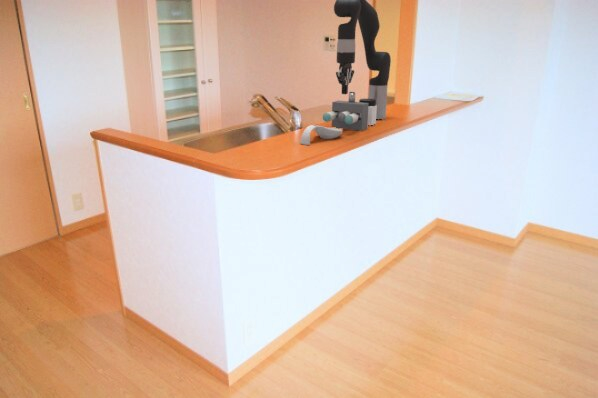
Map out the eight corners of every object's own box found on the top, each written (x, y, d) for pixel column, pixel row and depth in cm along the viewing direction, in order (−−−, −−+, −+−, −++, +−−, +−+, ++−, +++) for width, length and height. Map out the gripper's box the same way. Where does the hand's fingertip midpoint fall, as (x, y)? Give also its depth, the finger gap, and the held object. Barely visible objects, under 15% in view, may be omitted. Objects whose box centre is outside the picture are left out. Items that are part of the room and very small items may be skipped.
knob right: (354, 120, 221) (355, 111, 219) (362, 120, 219) (363, 112, 217) (344, 123, 212) (344, 114, 211) (352, 124, 210) (353, 115, 209)
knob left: (333, 117, 226) (333, 109, 225) (341, 118, 224) (341, 110, 223) (322, 121, 217) (322, 112, 216) (330, 122, 215) (330, 113, 214)
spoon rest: (324, 133, 215) (324, 117, 212) (347, 137, 208) (348, 120, 206) (293, 143, 197) (293, 126, 194) (317, 147, 190) (317, 129, 188)
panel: (337, 125, 231) (338, 100, 227) (367, 128, 224) (368, 103, 220) (331, 127, 227) (332, 102, 223) (361, 131, 219) (363, 104, 215)
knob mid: (347, 117, 226) (348, 109, 225) (355, 118, 225) (356, 109, 223) (337, 121, 218) (337, 112, 216) (345, 122, 216) (345, 113, 215)
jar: (357, 126, 231) (358, 100, 227) (357, 122, 238) (358, 98, 234) (376, 126, 230) (377, 101, 226) (375, 123, 238) (376, 98, 234)
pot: (350, 101, 224) (350, 91, 223) (356, 101, 223) (356, 91, 221) (347, 102, 222) (347, 92, 220) (353, 102, 220) (353, 92, 219)
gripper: (344, 50, 204) (343, 91, 210) (330, 51, 193) (329, 95, 199) (361, 50, 200) (359, 93, 206) (347, 51, 189) (345, 96, 195)
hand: (344, 94), depth 202 cm, fingers closed
